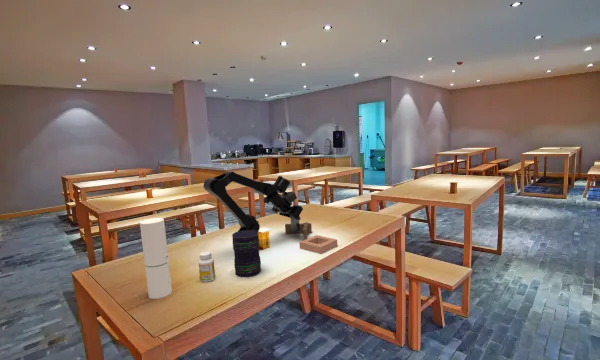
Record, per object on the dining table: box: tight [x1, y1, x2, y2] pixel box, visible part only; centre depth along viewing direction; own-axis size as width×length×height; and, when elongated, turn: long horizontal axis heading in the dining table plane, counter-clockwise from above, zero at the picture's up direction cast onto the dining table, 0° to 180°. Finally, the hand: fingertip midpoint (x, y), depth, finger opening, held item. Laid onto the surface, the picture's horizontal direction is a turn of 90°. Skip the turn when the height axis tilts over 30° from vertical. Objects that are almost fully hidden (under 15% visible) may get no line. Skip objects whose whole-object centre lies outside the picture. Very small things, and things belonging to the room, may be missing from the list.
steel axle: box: [289, 205, 301, 233], centre depth 159 cm, size 4×4×13 cm
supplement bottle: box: [197, 251, 216, 283], centre depth 115 cm, size 5×5×10 cm
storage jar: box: [231, 230, 262, 279], centre depth 119 cm, size 10×10×15 cm
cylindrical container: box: [139, 217, 173, 300], centre depth 105 cm, size 7×7×25 cm
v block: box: [284, 221, 313, 241], centre depth 163 cm, size 10×16×5 cm, turn 40°
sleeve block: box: [299, 234, 338, 255], centre depth 143 cm, size 12×12×3 cm
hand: (296, 218), depth 160 cm, fingers closed on steel axle, 4 cm apart
